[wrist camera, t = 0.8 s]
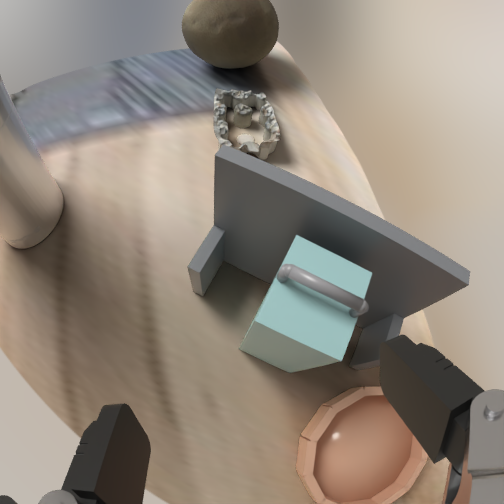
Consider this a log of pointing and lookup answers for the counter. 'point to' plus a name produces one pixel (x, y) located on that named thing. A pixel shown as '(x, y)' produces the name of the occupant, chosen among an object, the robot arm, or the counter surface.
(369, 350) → the screen
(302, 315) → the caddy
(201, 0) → the cantaloupe
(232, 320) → the counter surface
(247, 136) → the miniature stone ruin
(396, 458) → the dish
